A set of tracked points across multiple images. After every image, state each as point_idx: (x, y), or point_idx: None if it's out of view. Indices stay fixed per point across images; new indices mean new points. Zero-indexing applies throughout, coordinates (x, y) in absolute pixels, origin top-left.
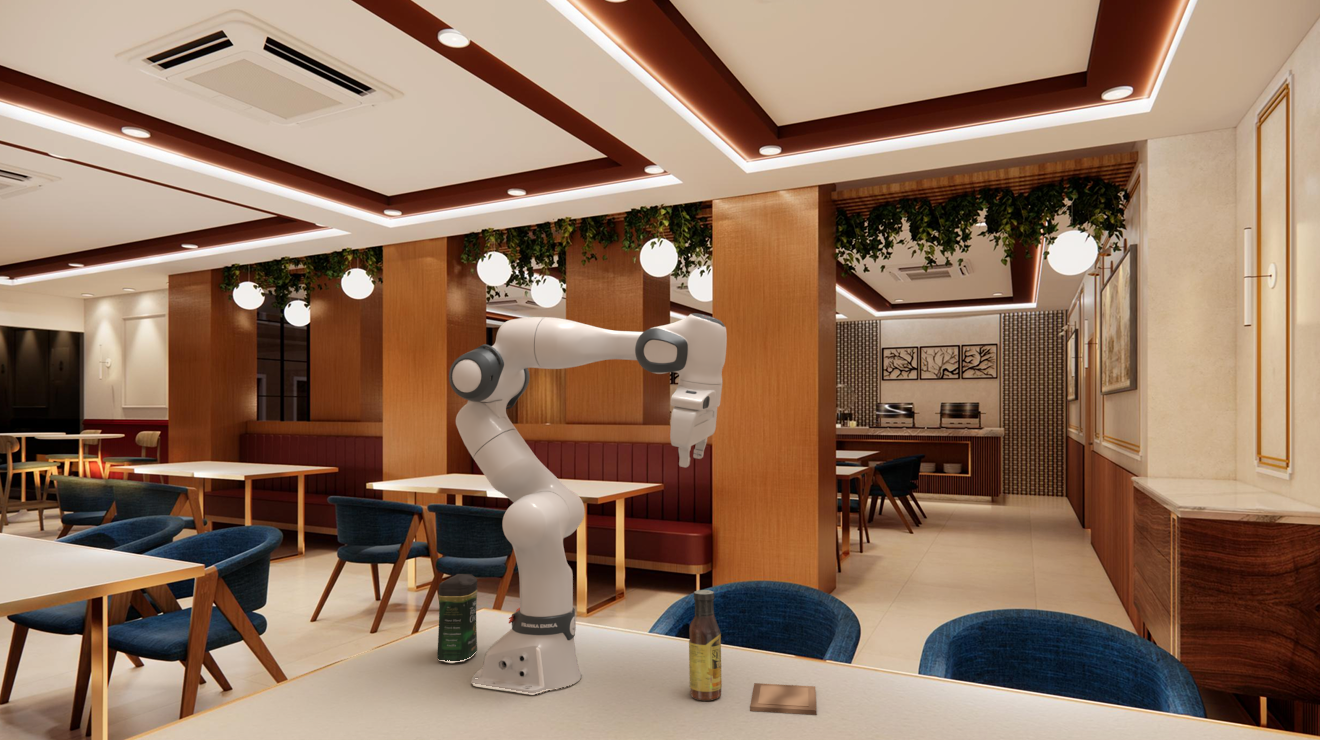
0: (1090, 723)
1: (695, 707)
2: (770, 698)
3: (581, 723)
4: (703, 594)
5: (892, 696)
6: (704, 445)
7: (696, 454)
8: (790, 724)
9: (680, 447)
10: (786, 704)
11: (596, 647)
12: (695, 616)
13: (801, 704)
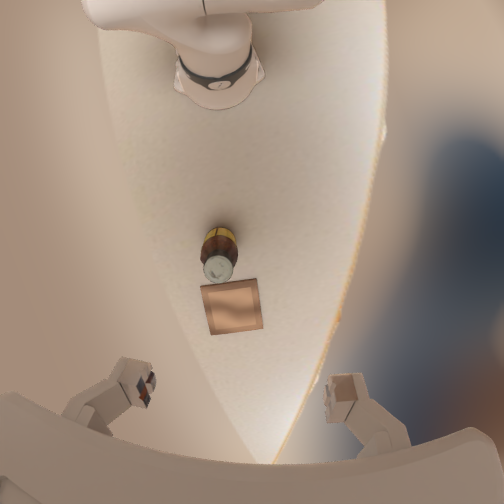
0: (253, 444)
1: (192, 239)
2: (222, 300)
3: (132, 158)
4: (204, 273)
5: (266, 374)
6: (359, 438)
7: (332, 392)
8: (186, 318)
9: (69, 412)
10: (213, 314)
11: (325, 91)
12: (212, 250)
13: (217, 324)
